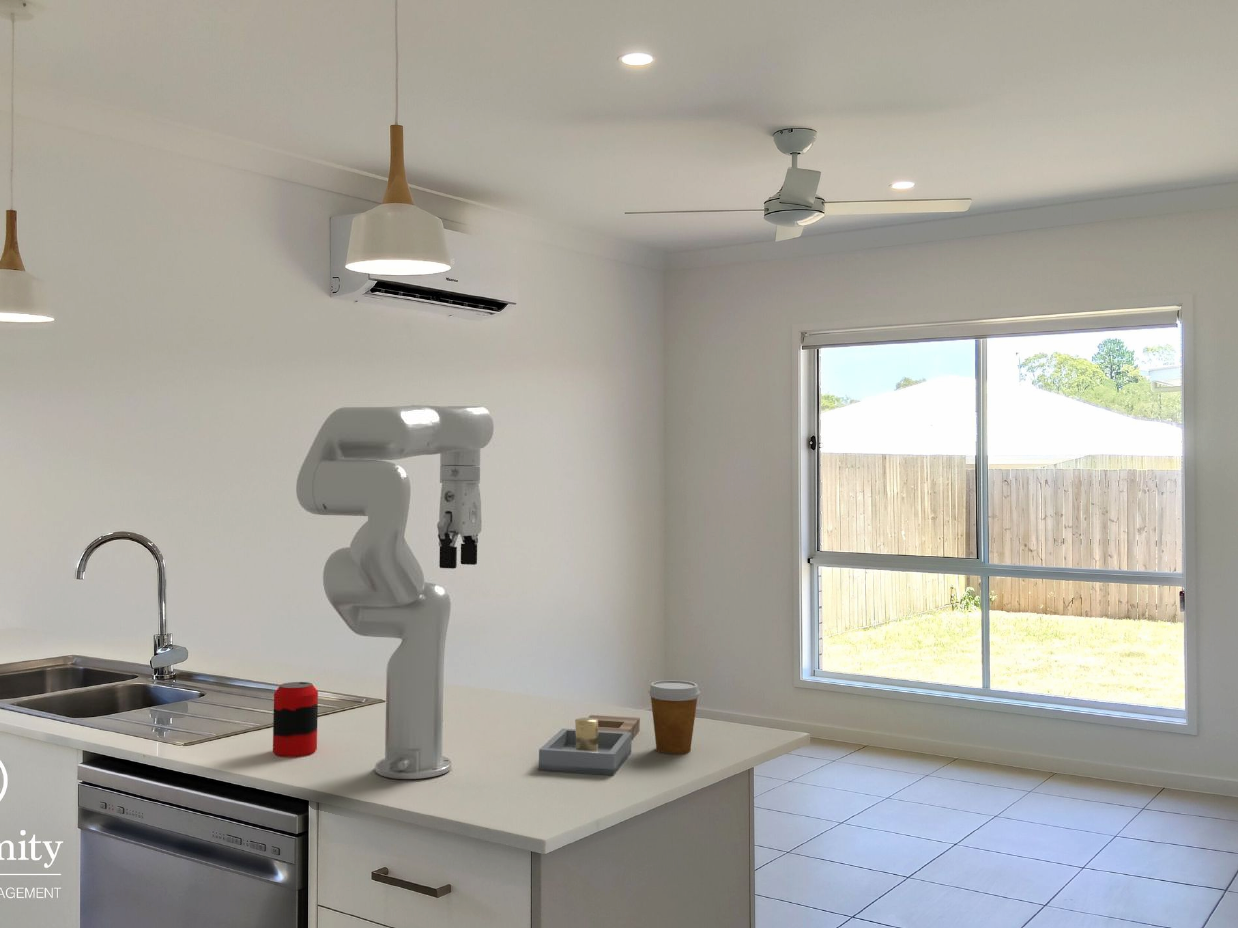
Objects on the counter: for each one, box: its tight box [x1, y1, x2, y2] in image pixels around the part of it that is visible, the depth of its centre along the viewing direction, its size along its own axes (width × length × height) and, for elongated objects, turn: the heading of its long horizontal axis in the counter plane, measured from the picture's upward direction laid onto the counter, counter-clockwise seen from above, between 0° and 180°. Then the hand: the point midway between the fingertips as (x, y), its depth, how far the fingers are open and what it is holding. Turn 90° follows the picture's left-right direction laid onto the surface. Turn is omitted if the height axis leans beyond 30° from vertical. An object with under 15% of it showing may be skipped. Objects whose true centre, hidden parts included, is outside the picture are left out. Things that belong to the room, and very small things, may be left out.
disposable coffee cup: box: [647, 679, 701, 755], centre depth 192 cm, size 10×10×12 cm
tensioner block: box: [587, 714, 641, 741], centre depth 201 cm, size 14×10×2 cm
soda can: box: [272, 681, 319, 758], centre depth 187 cm, size 8×8×12 cm
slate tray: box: [538, 728, 633, 776], centre depth 183 cm, size 16×13×4 cm
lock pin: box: [574, 717, 599, 752], centre depth 184 cm, size 4×4×6 cm
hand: (458, 566), depth 197 cm, fingers open, 9 cm apart
